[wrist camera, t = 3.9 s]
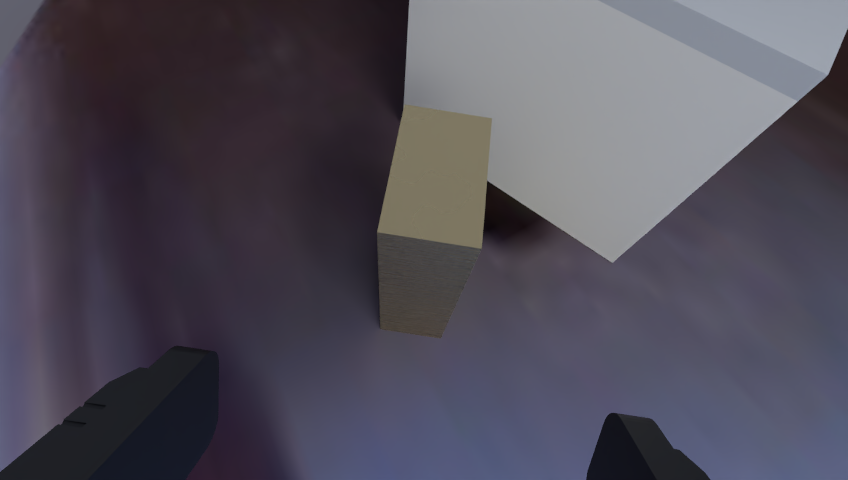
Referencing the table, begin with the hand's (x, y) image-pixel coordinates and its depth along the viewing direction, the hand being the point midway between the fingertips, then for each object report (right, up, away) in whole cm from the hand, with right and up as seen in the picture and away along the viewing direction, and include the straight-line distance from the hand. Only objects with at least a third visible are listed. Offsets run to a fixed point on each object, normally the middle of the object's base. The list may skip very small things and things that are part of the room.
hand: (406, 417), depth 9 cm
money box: (+10, +12, +20) cm, 25 cm away
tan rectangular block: (0, +1, +13) cm, 13 cm away
